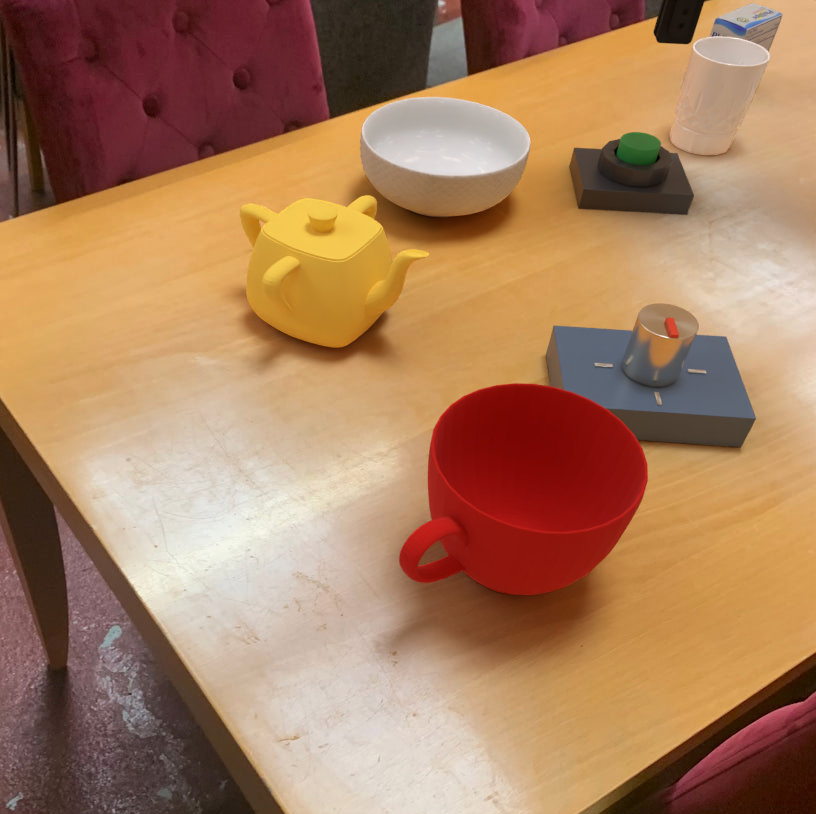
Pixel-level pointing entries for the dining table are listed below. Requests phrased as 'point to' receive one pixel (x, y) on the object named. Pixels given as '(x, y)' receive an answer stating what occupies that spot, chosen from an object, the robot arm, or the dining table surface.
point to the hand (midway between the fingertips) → (671, 39)
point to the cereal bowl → (443, 155)
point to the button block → (629, 182)
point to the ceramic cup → (526, 489)
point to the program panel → (656, 406)
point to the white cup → (716, 93)
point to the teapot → (322, 268)
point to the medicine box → (749, 24)
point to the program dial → (659, 344)
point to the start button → (638, 148)
